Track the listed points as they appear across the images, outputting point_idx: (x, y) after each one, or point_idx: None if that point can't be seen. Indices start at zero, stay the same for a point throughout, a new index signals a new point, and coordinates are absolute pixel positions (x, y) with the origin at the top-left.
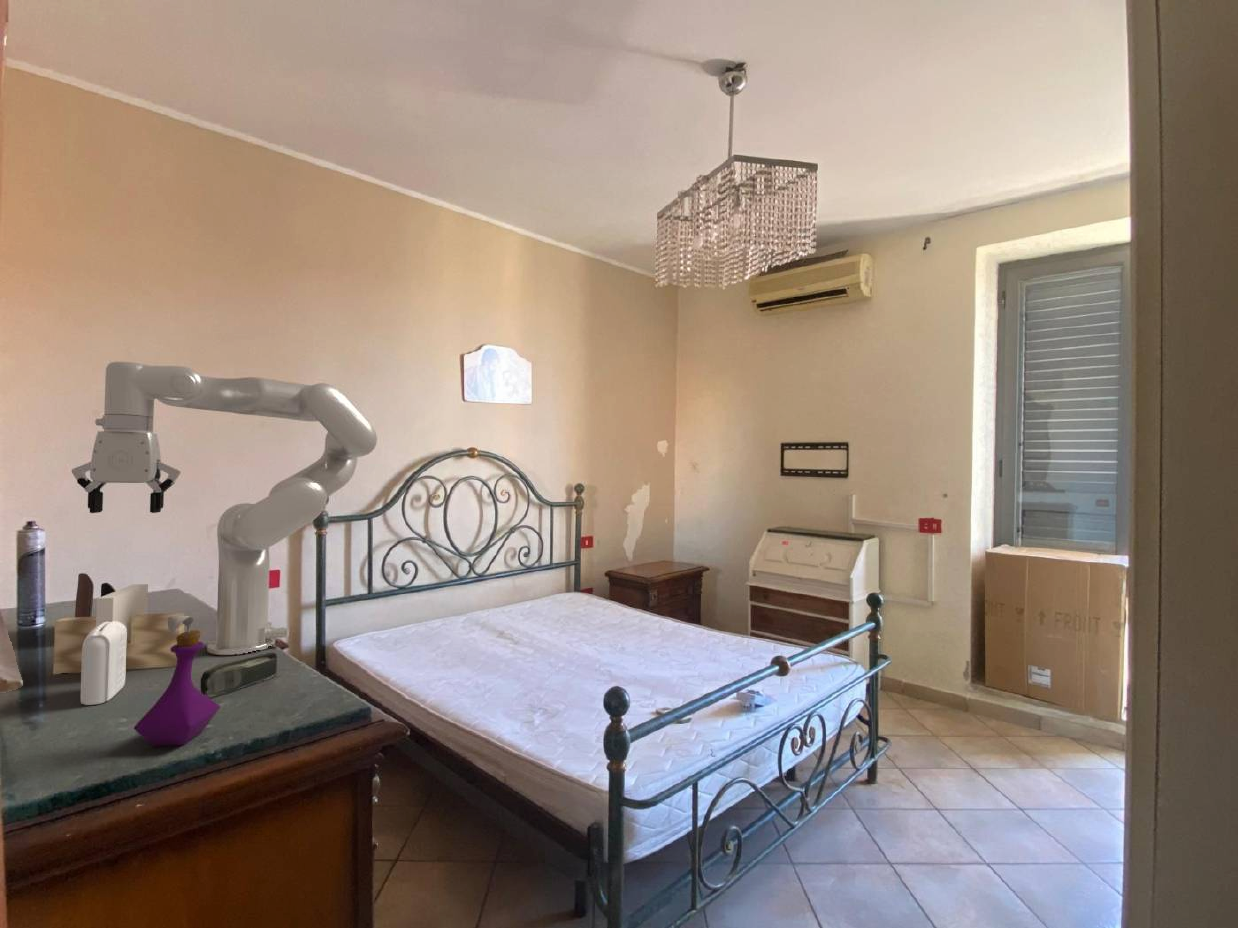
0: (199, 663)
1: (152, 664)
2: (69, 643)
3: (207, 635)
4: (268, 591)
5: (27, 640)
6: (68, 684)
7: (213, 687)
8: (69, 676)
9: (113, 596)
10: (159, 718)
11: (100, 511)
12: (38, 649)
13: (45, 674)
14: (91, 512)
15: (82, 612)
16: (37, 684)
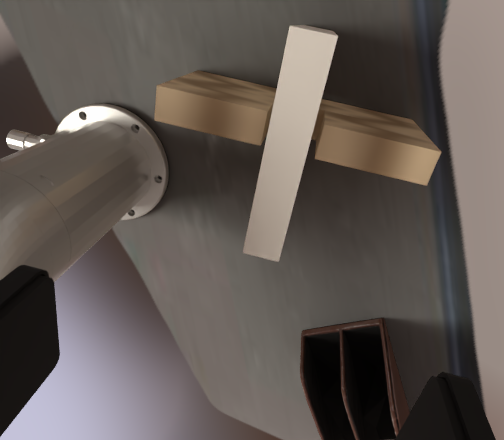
0: (163, 74)
1: (241, 81)
2: (396, 128)
3: (193, 278)
4: None
5: (477, 382)
6: (376, 22)
7: None
8: (382, 89)
9: (294, 59)
10: None
11: (399, 433)
12: (454, 315)
13: (425, 127)
14: (455, 377)
15: (404, 408)
16: (431, 53)
